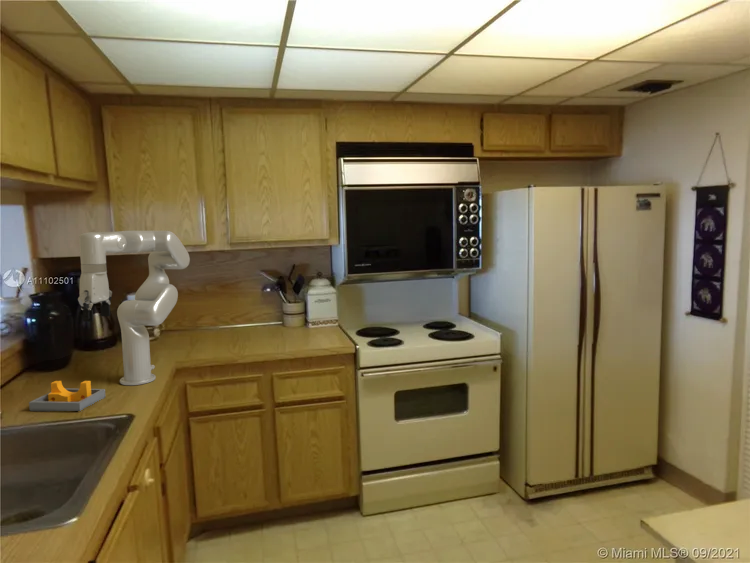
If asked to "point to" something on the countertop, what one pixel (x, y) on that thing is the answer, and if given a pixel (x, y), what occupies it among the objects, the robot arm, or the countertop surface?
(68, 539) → the countertop surface
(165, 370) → the countertop surface
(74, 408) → the parts tray
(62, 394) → the pipe clamp
